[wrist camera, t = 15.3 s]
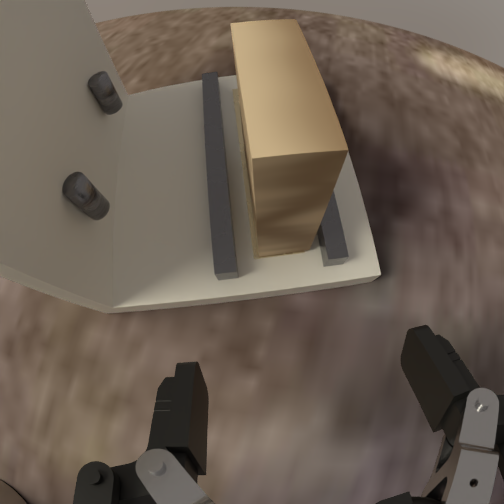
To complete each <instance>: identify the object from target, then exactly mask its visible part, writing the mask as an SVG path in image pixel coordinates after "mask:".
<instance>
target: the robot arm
mask: <svg viewBox="0 0 504 504" xmlns="http://www.w3.org/2000/svg"><path fill="white" fill-rule="evenodd" d="M401 366H402V369H403V371H404V373H405V375H406V377H407V379H408V381H409V383H410V385H411V387H412V389H413V391H414V393H415V395H416V397H417V399H418V401H419V403H420V405H421V408H422V410H423V412H424V414H425V416H426V418H427V420H428V422H429V424H430V427H431V429H432V431H433V432H436V431H439V430H441V429H443V431H444V433H445V434H444V436H443V439H442V442H441V446H440V449H439V453H438V456H437V459H436V462H435V466H434V469H433V472H432V475H431V477H430V479H429V481H428V483H427V484H426V486H425V488H424V490H423V492H422V494H421V497H411V496H410V493H409V492H406V493H403V494H400V495H397V496H394V497H391V498H388V499H385V500H381V501H379V502H378V503H376V504H489V502H490V498H491V494H492V490H493V485H494V481H495V476H496V471H497V466H498V467H499V469H500V472H501V475H502V477H503V480H504V395H495V393H494V392H492V391H491V390H489V389H486V388H480V387H479V386H478V384H477V383H476V381H475V380H474V378H473V376H472V375H471V373H470V372H469V370H468V369H467V367H466V366H465V364H464V363H463V361H462V360H460V357H459V355H458V354H457V353H455V350H454V348H453V347H452V345H451V344H450V342H449V341H447V340H446V339H445V338H443V337H442V336H440V335H436V336H435V335H434V333H433V332H432V330H431V329H430V328H429V326H427V325H423V326H419V327H415V328H411V329H409V330H408V331H407V335H406V339H405V343H404V347H403V350H402V354H401ZM207 427H208V391H207V387H206V384H205V381H204V378H203V375H202V372H201V369H200V366H199V363H198V362H186V363H177V365H176V371H175V377H166V378H165V379H164V380H163V382H162V383H161V385H160V386H159V388H158V391H157V396H156V402H155V407H154V413H153V419H152V424H151V430H150V436H149V443H148V447H147V450H146V452H144V453H143V454H142V455H141V456H140V457H139V458H138V460H136V461H135V462H132V463H129V464H125V465H120V466H115V467H109V466H108V465H106V464H105V463H102V462H98V461H95V462H90V463H88V464H86V465H84V466H83V467H82V468H81V470H80V471H79V473H78V477H77V482H76V488H75V494H74V500H73V504H215V503H214V502H213V501H212V500H211V499H210V498H209V497H208V496H207V495H206V494H205V493H204V491H203V490H202V489H201V488H200V487H199V486H198V485H197V477H198V475H206V458H207ZM0 504H27V503H26V502H25V501H24V500H23V498H22V497H21V496H20V495H19V494H18V493H17V492H16V491H15V490H13V489H12V488H11V487H10V486H9V485H7V484H6V483H4V482H3V481H1V480H0Z"/></svg>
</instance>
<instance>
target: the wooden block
mask: <svg viewBox="0 0 504 504" xmlns="http://www.w3.org/2000/svg"><path fill="white" fill-rule="evenodd" d="M231 32H232V41H233V50H234V59H235V68H236V78H237V87H238V96H239V105H240V115H241V124H242V133H243V142H244V150H245V158H246V165H247V172H248V179H249V187H250V194H251V201H252V209H253V216H254V224H255V231H256V238H257V246H258V253H259V257H260V256H268V255H276V254H284V253H291V252H299V251H307V250H310V248H311V245H312V243H313V241H314V238H315V236H316V233H317V231H318V228H319V226H320V223H321V221H322V218H323V216H324V213H325V211H326V208H327V206H328V203H329V201H330V198H331V195H332V193H333V190H334V188H335V185H336V182H337V180H338V177H339V174H340V172H341V169H342V166H343V164H344V161H345V158H346V156H347V153H348V147H347V144H346V141H345V138H344V135H343V132H342V129H341V126H340V124H339V121H338V118H337V115H336V113H335V110H334V107H333V105H332V102H331V99H330V97H329V94H328V92H327V89H326V86H325V84H324V82H323V79H322V77H321V74H320V72H319V69H318V67H317V65H316V62H315V60H314V58H313V55H312V53H311V51H310V49H309V46H308V44H307V42H306V40H305V38H304V35H303V33H302V31H301V29H300V27H299V25H298V23H297V21H296V19H282V20H263V21H250V22H240V23H231Z"/></svg>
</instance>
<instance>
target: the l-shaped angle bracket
mask: <svg viewBox="0 0 504 504" xmlns="http://www.w3.org/2000/svg"><path fill="white" fill-rule="evenodd" d="M380 275H381V272H380V267H379V263H378V258H377V254H376V249H375V245H374V241H373V237H372V233H371V229H370V225H369V221H368V217H367V213H366V209H365V206H364V202H363V199H362V195H361V191H360V188H359V185H358V181H357V178H356V174H355V171H354V168H353V165H352V161H351V158H350V155H349V152H348V153H347V156H346V158H345V161H344V164H343V166H342V169H341V172H340V174H339V177H338V180H337V182H336V185H335V188H334V190H333V193H332V195H331V198H330V201H329V203H328V206H327V208H326V211H325V213H324V216H323V218H322V221H321V223H320V226H319V228H318V231H317V233H316V236H315V238H314V241H313V243H312V245H311V248H310V250H307V251H299V252H291V253H284V254H276V255H268V256H260V257H259V253H258V246H257V238H256V231H255V224H254V216H253V209H252V201H251V194H250V187H249V179H248V172H247V165H246V158H245V150H244V142H243V133H242V124H241V115H240V105H239V96H238V87H237V78H236V75H233V76H225V77H218V74H217V72H212V73H205V74H202V80H199V81H193V82H187V83H182V84H176V85H171V86H167V87H162V88H157V89H153V90H148V91H144V92H140V93H136V94H132V95H128V94H127V92H126V90H125V87H124V85H123V83H122V81H121V79H120V77H119V75H118V73H117V71H116V68H115V66H114V64H113V62H112V60H111V58H110V56H109V53H108V51H107V49H106V47H105V45H104V42H103V40H102V38H101V36H100V34H99V31H98V29H97V27H96V25H95V22H94V20H93V18H92V16H91V13H90V11H89V9H88V7H87V4H86V2H85V0H0V276H1V277H3V278H6V279H8V280H11V281H13V282H16V283H18V284H21V285H24V286H26V287H29V288H32V289H35V290H37V291H40V292H43V293H46V294H48V295H51V296H54V297H57V298H60V299H63V300H66V301H69V302H72V303H75V304H78V305H81V306H84V307H87V308H91V309H94V310H97V311H100V312H104V313H121V312H133V311H145V310H156V309H167V308H178V307H188V306H197V305H207V304H216V303H225V302H233V301H242V300H250V299H258V298H266V297H273V296H281V295H288V294H296V293H303V292H310V291H317V290H323V289H330V288H337V287H343V286H350V285H356V284H362V283H368V282H372V281H373V280H375V279H376V278H377V277H379V276H380Z"/></svg>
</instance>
